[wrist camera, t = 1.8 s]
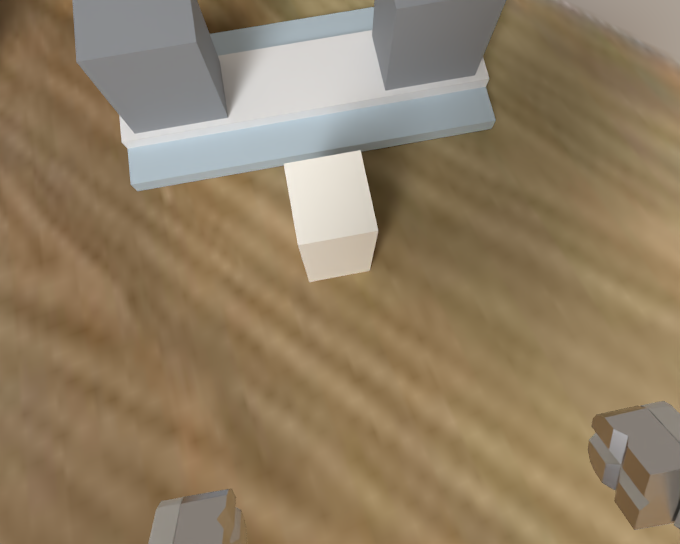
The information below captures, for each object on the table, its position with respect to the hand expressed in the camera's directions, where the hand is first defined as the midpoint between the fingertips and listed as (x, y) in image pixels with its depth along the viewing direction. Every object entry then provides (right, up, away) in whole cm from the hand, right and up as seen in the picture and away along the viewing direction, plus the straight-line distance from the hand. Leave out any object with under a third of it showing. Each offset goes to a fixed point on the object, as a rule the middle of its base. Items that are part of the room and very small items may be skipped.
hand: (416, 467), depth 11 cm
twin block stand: (-5, +19, +28) cm, 34 cm away
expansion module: (-2, +6, +25) cm, 26 cm away
